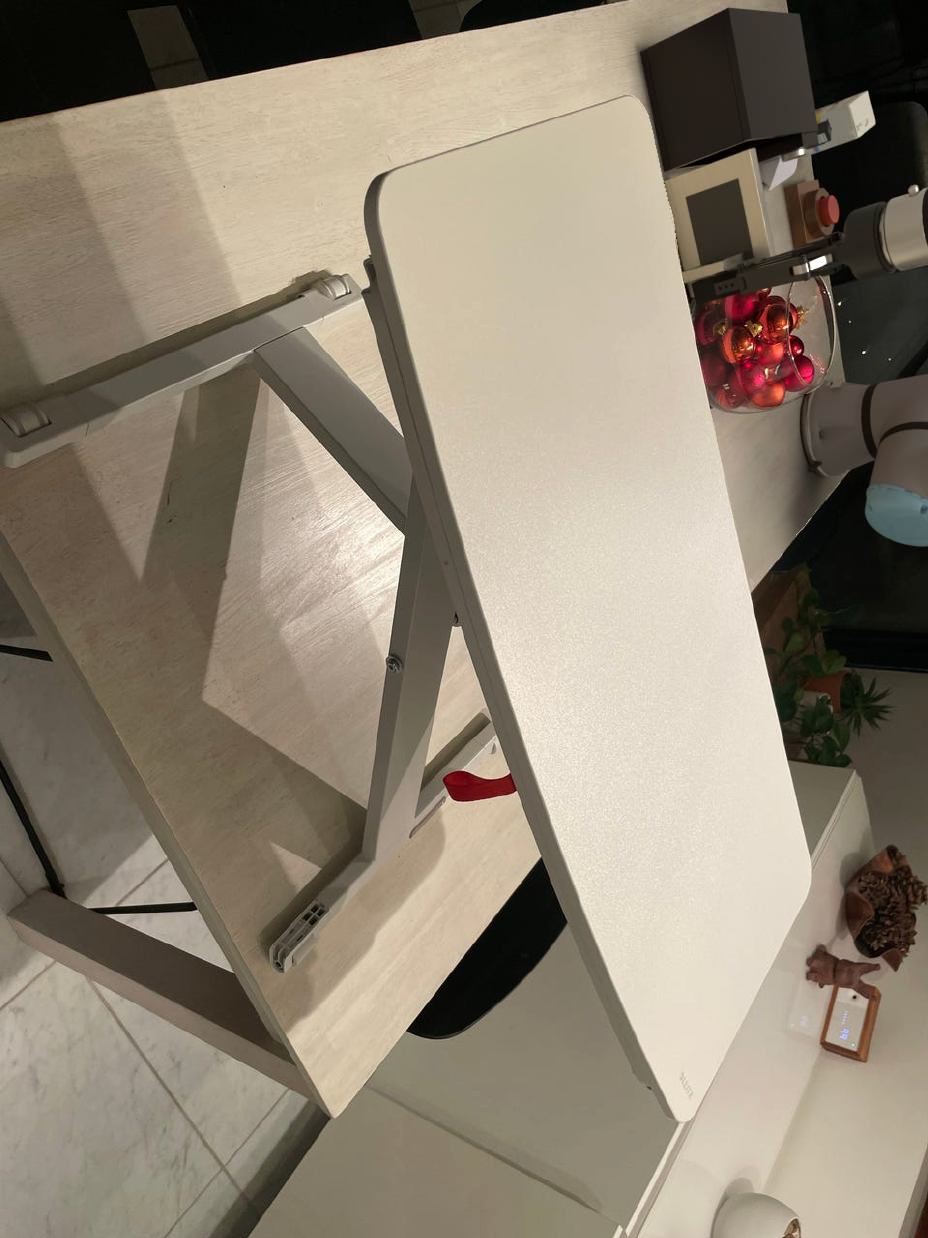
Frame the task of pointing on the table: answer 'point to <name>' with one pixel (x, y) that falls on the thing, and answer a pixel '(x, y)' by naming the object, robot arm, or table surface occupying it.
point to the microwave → (731, 89)
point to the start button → (828, 210)
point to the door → (720, 217)
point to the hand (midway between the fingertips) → (697, 292)
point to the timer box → (806, 212)
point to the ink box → (842, 122)
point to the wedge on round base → (777, 172)
